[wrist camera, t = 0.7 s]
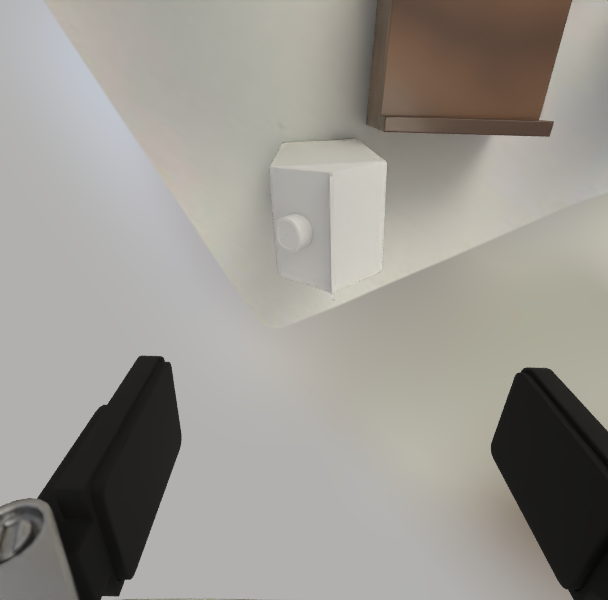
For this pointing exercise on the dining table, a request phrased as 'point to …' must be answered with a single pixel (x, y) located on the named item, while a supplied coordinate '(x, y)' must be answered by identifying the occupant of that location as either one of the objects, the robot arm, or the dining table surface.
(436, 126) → the brown wooden box
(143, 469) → the robot arm
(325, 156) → the milk carton
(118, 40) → the dining table surface
